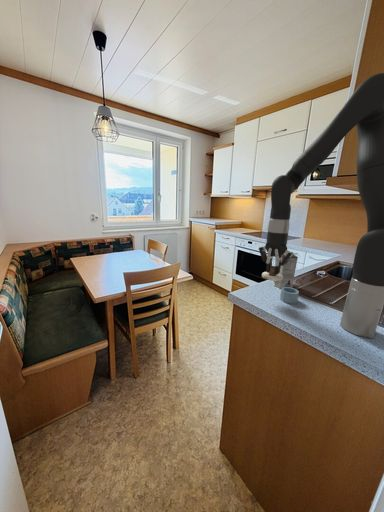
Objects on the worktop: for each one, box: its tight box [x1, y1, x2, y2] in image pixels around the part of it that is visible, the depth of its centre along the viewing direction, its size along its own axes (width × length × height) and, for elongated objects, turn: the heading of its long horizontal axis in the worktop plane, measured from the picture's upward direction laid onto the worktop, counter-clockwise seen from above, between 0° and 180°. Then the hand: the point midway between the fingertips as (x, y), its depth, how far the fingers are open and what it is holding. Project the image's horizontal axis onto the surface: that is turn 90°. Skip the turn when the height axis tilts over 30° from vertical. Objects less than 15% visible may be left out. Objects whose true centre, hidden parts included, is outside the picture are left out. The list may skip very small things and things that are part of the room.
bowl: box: [279, 287, 300, 305], centre depth 89 cm, size 7×7×4 cm
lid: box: [261, 265, 283, 282], centre depth 86 cm, size 8×8×4 cm
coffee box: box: [273, 253, 299, 289], centre depth 103 cm, size 9×6×16 cm
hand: (272, 273), depth 86 cm, fingers closed on lid, 2 cm apart
